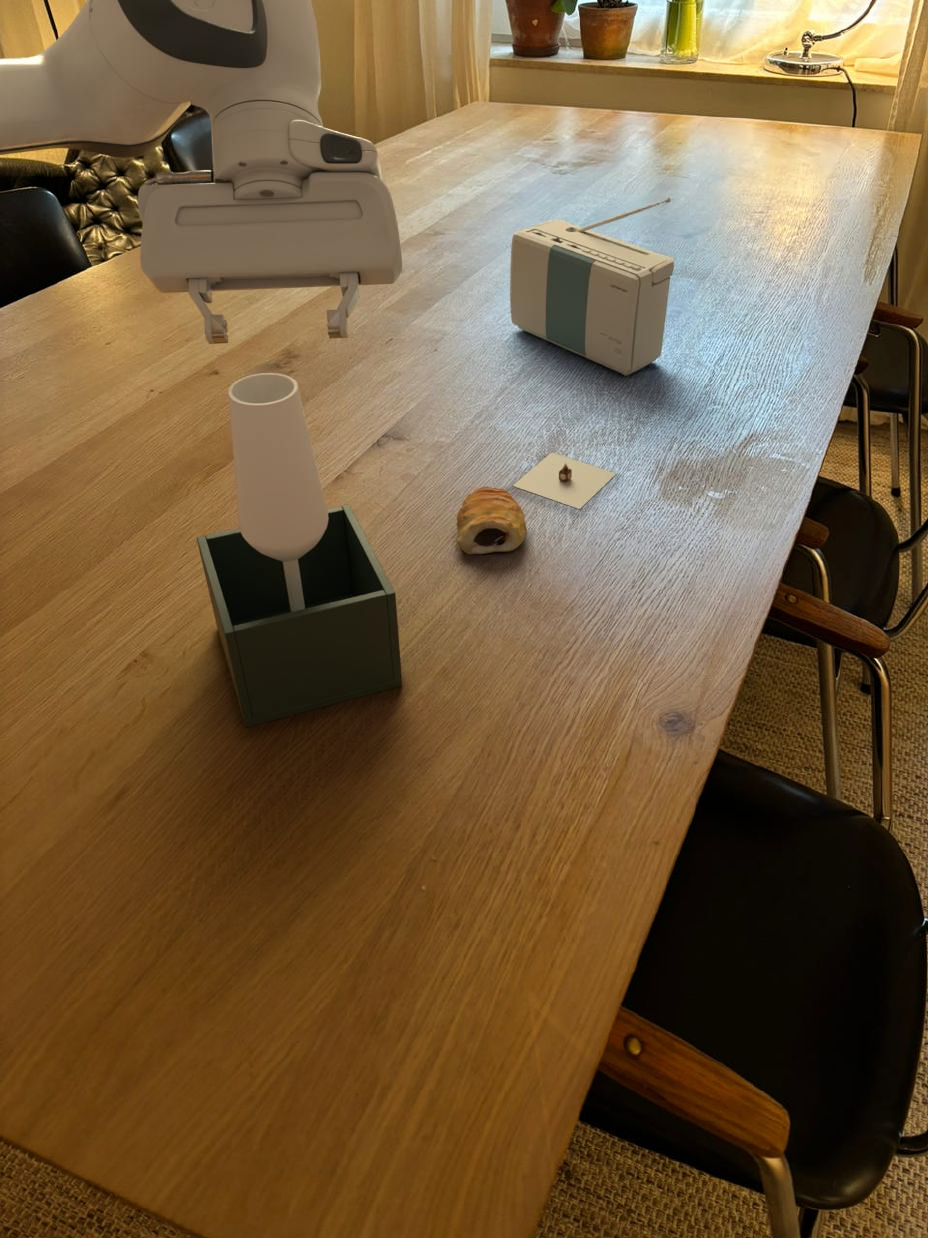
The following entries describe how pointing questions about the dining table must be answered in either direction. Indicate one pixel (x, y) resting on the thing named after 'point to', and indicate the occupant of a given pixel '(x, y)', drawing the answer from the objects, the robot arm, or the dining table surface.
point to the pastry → (490, 522)
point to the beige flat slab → (565, 480)
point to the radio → (590, 292)
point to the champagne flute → (276, 473)
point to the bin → (303, 621)
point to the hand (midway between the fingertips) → (277, 338)
